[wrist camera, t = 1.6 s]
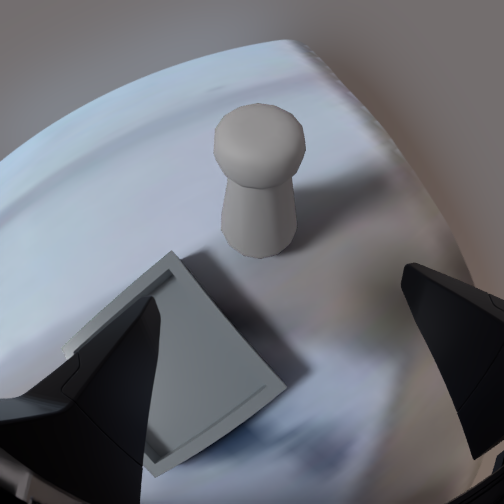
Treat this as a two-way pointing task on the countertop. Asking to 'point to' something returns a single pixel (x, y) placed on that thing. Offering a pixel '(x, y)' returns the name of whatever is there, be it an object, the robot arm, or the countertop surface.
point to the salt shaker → (259, 177)
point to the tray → (190, 366)
